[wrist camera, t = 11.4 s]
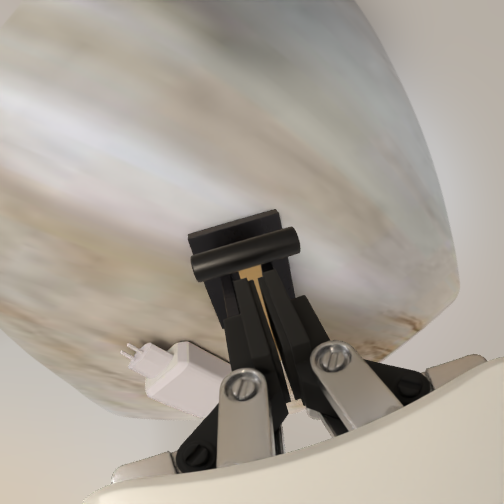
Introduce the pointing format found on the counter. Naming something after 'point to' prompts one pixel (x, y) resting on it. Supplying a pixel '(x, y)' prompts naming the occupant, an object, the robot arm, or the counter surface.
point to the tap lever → (246, 258)
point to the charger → (180, 376)
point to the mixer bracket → (223, 286)
